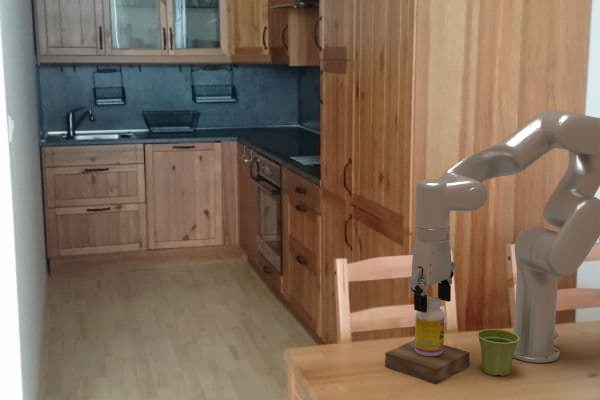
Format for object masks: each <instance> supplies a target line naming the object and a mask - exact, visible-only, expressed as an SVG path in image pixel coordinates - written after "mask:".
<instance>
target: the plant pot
mask: <svg viewBox="0 0 600 400" xmlns="http://www.w3.org/2000/svg"><path fill="white" fill-rule="evenodd" d="M476 335H477V338H478V341H479V344H480V353H481V354H480V356H481V366H482V367H481V368H482V370H483V372H484V373H486V374H488V375H489V376H494V377H495V376H502V377H504V376H508V375H509V374H510V373H511V368H512V364H513V358H514V357H513V355H514V351H515V347H516V346H517V342H518V341H519V339H520V338H519V336H518V335H517V334H515V333H514V332H512V331H510V330H509V331H508V330H505V329H499V328H495V329H494V328H489V329H488V328H486V329H481V330H479V331H478V332H477V333H476Z"/></svg>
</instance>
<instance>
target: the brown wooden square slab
mask: <svg viewBox="0 0 600 400" xmlns="http://www.w3.org/2000/svg"><path fill="white" fill-rule="evenodd" d="M470 353H471V352H470V351H467V350H462V349H460V348H456V347H454V346H450V345H446V344H443V353H442V354H441V355H439V356H433V357H430V356H423V355H420V354H418V353H416V351H415V339H414V340H411V341H409V342H406V343H404V344H402V345H400V346H398V347H395V348H393V349H390V350H388V351H386V352H385V354H384V355H385V356H384V358H385V360H384V361H385V363H384V365H385V366H384V367H385V368H387V369H391V370H393V371H396V372H399V373H402V374H405V375H408V376H411V377H414V378H418V379H420V380H422V381H424V382H428V383H431V384H435V385H437V384H439V383H440V382H442V381H445V380H446V379H448V378H450V377H453V376H454V375H455V374H458V373H460V372H461V371H464V370H466V369H467V368H469V367H470V356H471V355H470Z"/></svg>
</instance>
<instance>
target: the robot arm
mask: <svg viewBox="0 0 600 400" xmlns="http://www.w3.org/2000/svg"><path fill="white" fill-rule="evenodd" d="M553 149H559V150H565V151H566V150H567V152H568V158H569V159H568V166H567V168H566V171H565V172H564V174H563V176H562V177H561V179H560V180H559V182H558V184H557V185H556V186H555V189H554V190H553V191H552V193H551V194H550V196H549V197H548V199H547V201H546V203H545V205H544V206H543V209H542V210H543V211H542V215H543V218H544V220H545V222H546V223H548V224H549V225H550V226H552V227H555V228H557V229H560V230H559V231H558V232H557V231H556V230H551V229H549V228H546V227H542V226H529V227H526V228H524V229H523V230H521V231H520V232H519V233H518V235H517V236H516V239H515V243H514V257H515V258H514V259H515V265H516V287H515V289H516V290H515V304H514V319H513V320H514V321H513V333H515V334H517V335H518V336H519V338H520V339H519V341H518V342H517V346H516V347H515V351H514V355H513V358H514V359H516V360H520V361H522V362H529V363H537V364H539V363H540V364H544V363H545V364H546V363H547V364H548V363H551V362H555V361H557V360H558V359H559V358H560V356H561V354H560V353H561V352H560V350H559V349H558V348H557V347H555V345H554V344H555V340H556V339H557V338H558V337H559V332H558V331H556V330H555V328H556V317H557V303H558V302H557V299H558V287H559V286H558V277H561V278H563V277H568V276H571V275H573V274H574V273H575V272H577V270H579V268H580V267H581V265H582V264H583V263H584V261H585V260H586V258H588V256H589V254H590V252H591V250H593V248H594V246H595V244H596V243H597V241H598V239H599V238H600V199H599V198H597V197H596V196H595V195H596V194H597V192H598V190H599V189H600V117H596V116H592V115H591V116H589V115H586V114H580V113H577V112H573V111H570V112H569V111H562V110H561V111H560V110H544V111H541V112H539V113H537V114H536V115H534V117H532V118H531V119H528V121H527V122H525V123H524V124H523V125H521V126H520V127H519V128H517V129H516V130H515V131H513V132H512V133H510V134H509V135H508V136H506V137H505V138H504V139H502V140H501V141H499V142H497V143H496V144H493V145H491V146H488V147H485V148H484V149H481V150H480V151H478V152H475V153H473V154H470V155H468V156H467V157H464V158H462V159H461V160H460V161H458V162H457V163H455V164H454V165H453V166H451V167H450V168H449V169H448V170H446V171H445V172H443V174H441V176H439V178H428V179H427V178H426V179H425V178H424V179H421V180H419V181H418V182H417V183H416V190H415V191H416V192H415V193H416V194H415V195H416V196H415V197H416V198H415V202H416V204H415V206H416V207H415V209H416V214H415V215H416V216H415V217H416V220H415V221H416V222H415V223H416V225H415V227H416V228H415V230H416V231H415V232H416V233H415V235H416V236H415V241H414V244H413V245H414V247H413V249H412V250H413V251H412V258H411V259H412V261H411V275H410V277H409V278H408V283H409V286H410V289H411V293H412V294H413V309H414V311H415V312H416V311H420V312H424V313H425V312H427V297H428V295H427V291H428V288H429V287H430V286H433V285H435V284H437V298H439V299H441V301H444V302H451V301H452V300H451V299H452V298H451V295H452V294H451V293H452V292H451V291H452V284H453V277H454V275H455V268H456V263H455V262H453V261H452V249H451V240H450V237H451V234H450V233H451V222H450V221H451V212H452V211H453V212H474V211H477V210H480V209H481V208H482V207H484V205H485V204H486V202H487V200H488V190H487V188H486V186H485V185H484V184H483V182H486V181H488V180H491V179H495V178H499V177H500V178H501V177H506V176H507V177H508V176H513V175H516V174H519V173H522V172H524V171H525V170H527V169H528V168H529V167H530V166H532V165H533V164H534V163H536V162H537V161H538V160H540V159H541V158H542V157H543V156H545V155H547V153H549V152H551V150H553ZM421 286H422V287H421Z"/></svg>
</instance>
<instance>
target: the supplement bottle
mask: <svg viewBox="0 0 600 400" xmlns="http://www.w3.org/2000/svg"><path fill="white" fill-rule="evenodd" d="M441 306H442V300H441V299H439V298H438V297H436V296H427V312H425V313H424V312H420V311H416V310H415V330H414V340H415V351H416V353H418V354H420V355H423V356H430V357H433V356H439V355H441V354H442V353H443V345H445V344H444V343H445V342H444V340H445V338H444V337H445V317H446V315H445V312H444V311H443V310H442V309H441Z"/></svg>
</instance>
